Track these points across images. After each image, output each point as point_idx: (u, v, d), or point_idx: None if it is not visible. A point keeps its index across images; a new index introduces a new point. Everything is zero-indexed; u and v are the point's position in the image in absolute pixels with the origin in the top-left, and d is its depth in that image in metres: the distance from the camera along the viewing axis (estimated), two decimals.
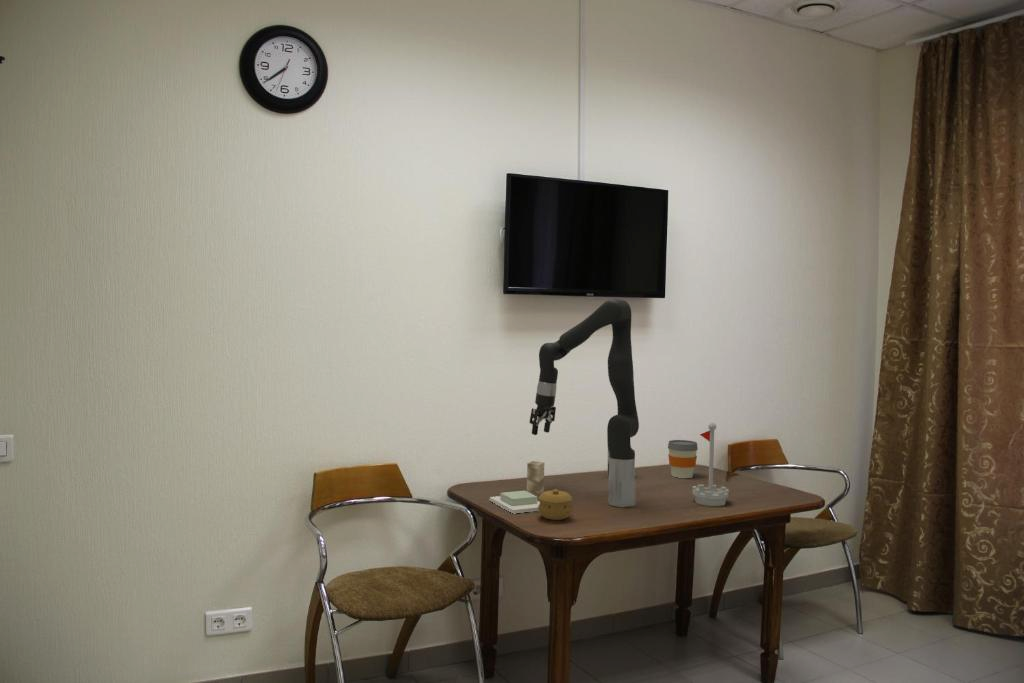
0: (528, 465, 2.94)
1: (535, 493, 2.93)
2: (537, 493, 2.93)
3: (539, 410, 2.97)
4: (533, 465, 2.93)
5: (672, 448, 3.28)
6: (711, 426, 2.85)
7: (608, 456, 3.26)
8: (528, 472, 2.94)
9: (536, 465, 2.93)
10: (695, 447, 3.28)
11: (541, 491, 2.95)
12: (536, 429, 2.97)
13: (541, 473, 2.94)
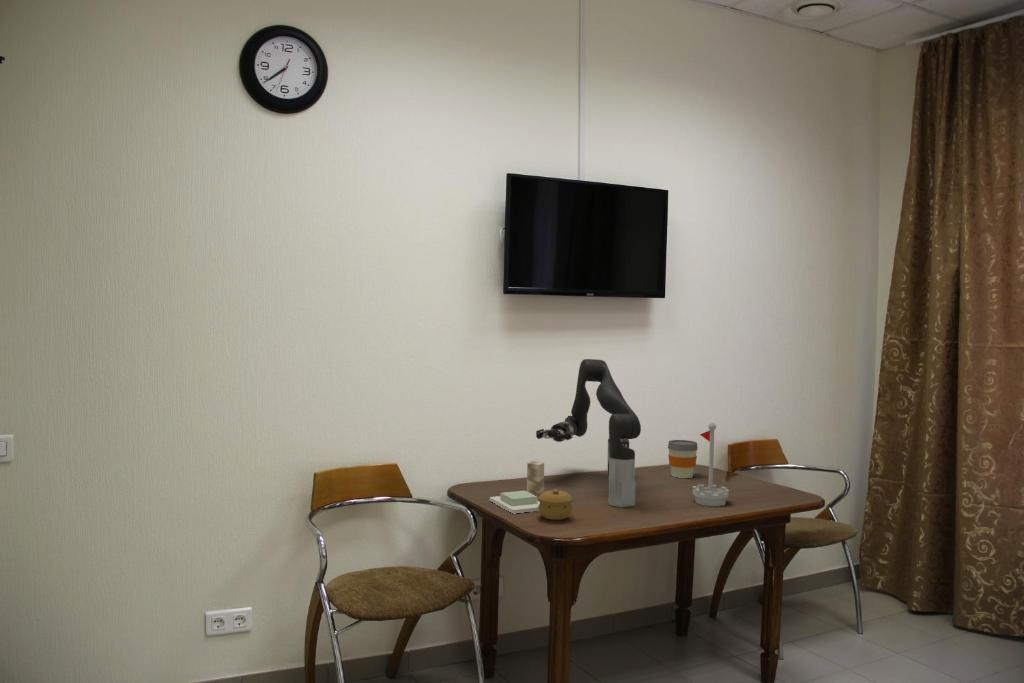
0: (528, 465, 2.94)
1: (535, 493, 2.93)
2: (537, 493, 2.93)
3: None
4: (533, 465, 2.93)
5: (672, 448, 3.28)
6: (711, 426, 2.85)
7: (608, 456, 3.26)
8: (528, 472, 2.94)
9: (536, 465, 2.93)
10: (695, 447, 3.28)
11: (541, 491, 2.95)
12: (539, 433, 3.10)
13: (541, 473, 2.94)
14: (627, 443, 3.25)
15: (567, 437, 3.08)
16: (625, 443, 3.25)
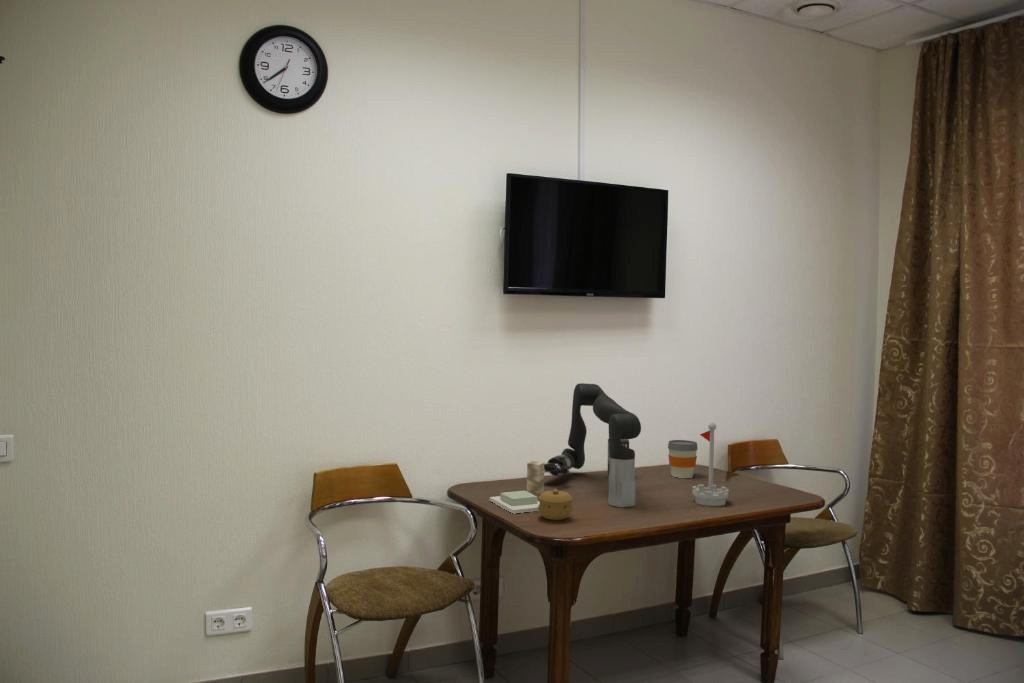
0: (528, 465, 2.94)
1: (535, 493, 2.93)
2: (537, 493, 2.93)
3: None
4: (533, 465, 2.93)
5: (672, 448, 3.28)
6: (711, 426, 2.85)
7: (608, 456, 3.26)
8: (528, 472, 2.94)
9: (536, 465, 2.93)
10: (695, 447, 3.28)
11: (541, 491, 2.95)
12: None
13: (541, 473, 2.94)
14: (627, 443, 3.25)
15: (563, 472, 3.05)
16: (625, 443, 3.25)
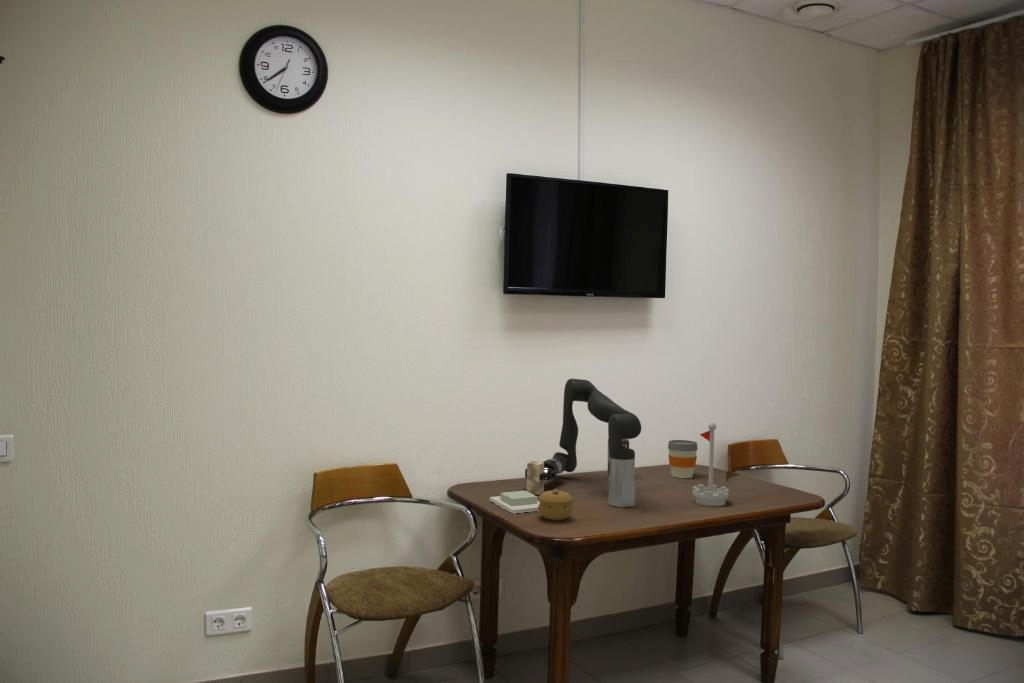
0: (528, 465, 2.94)
1: (535, 493, 2.93)
2: (537, 493, 2.93)
3: None
4: (533, 465, 2.93)
5: (672, 448, 3.28)
6: (711, 426, 2.85)
7: (608, 456, 3.26)
8: (528, 472, 2.94)
9: (536, 465, 2.93)
10: (695, 447, 3.28)
11: (541, 491, 2.95)
12: None
13: (541, 473, 2.94)
14: (627, 443, 3.25)
15: (549, 476, 2.96)
16: (625, 443, 3.25)
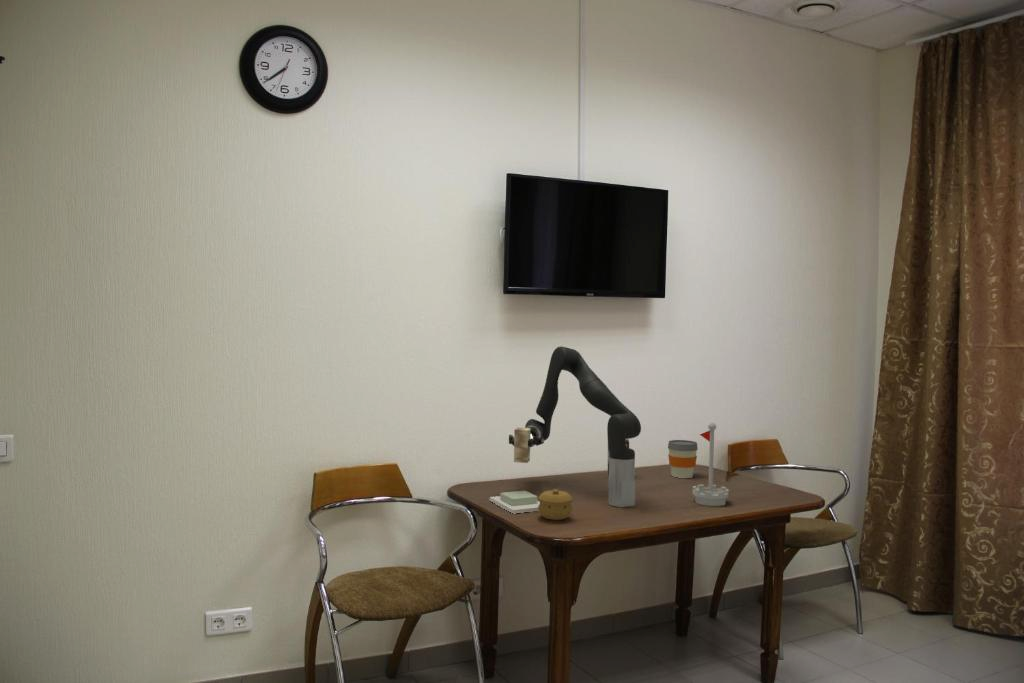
0: (515, 431, 2.81)
1: (523, 460, 2.81)
2: (525, 460, 2.81)
3: None
4: (521, 431, 2.81)
5: (672, 448, 3.28)
6: (711, 426, 2.85)
7: (608, 456, 3.26)
8: (515, 438, 2.81)
9: (524, 431, 2.81)
10: (695, 447, 3.28)
11: (528, 458, 2.83)
12: None
13: (528, 439, 2.83)
14: (627, 443, 3.25)
15: (536, 442, 2.85)
16: None
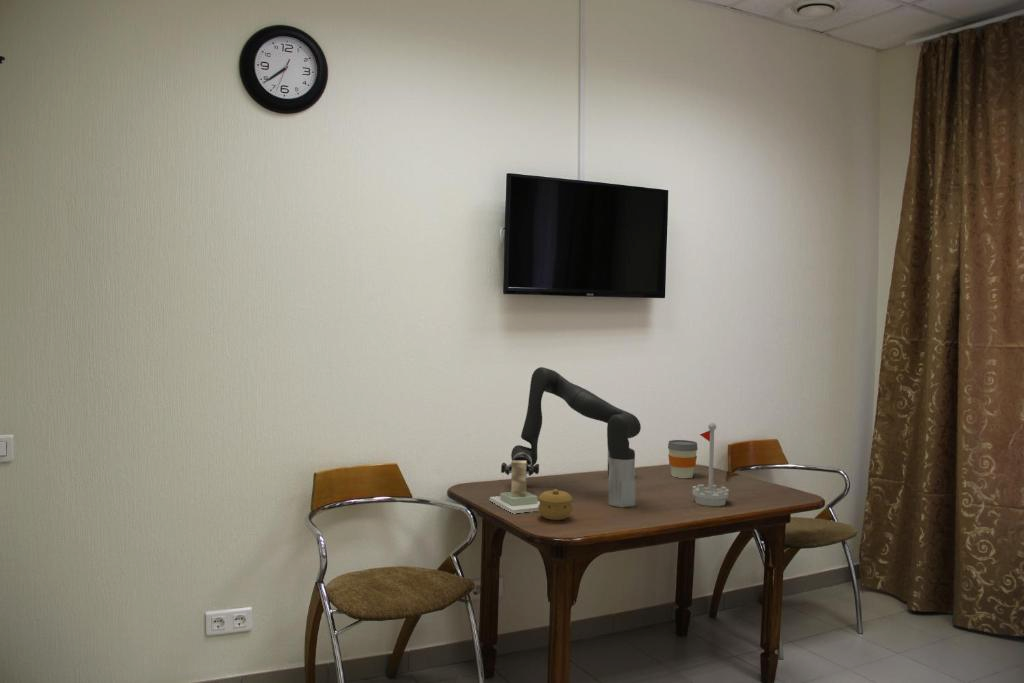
0: (513, 464, 2.74)
1: (521, 494, 2.74)
2: (523, 494, 2.74)
3: None
4: (518, 464, 2.74)
5: (672, 448, 3.28)
6: (711, 426, 2.85)
7: (608, 456, 3.26)
8: (513, 472, 2.74)
9: (522, 464, 2.74)
10: (695, 447, 3.28)
11: None
12: (507, 468, 2.77)
13: None
14: None
15: (536, 471, 2.79)
16: None
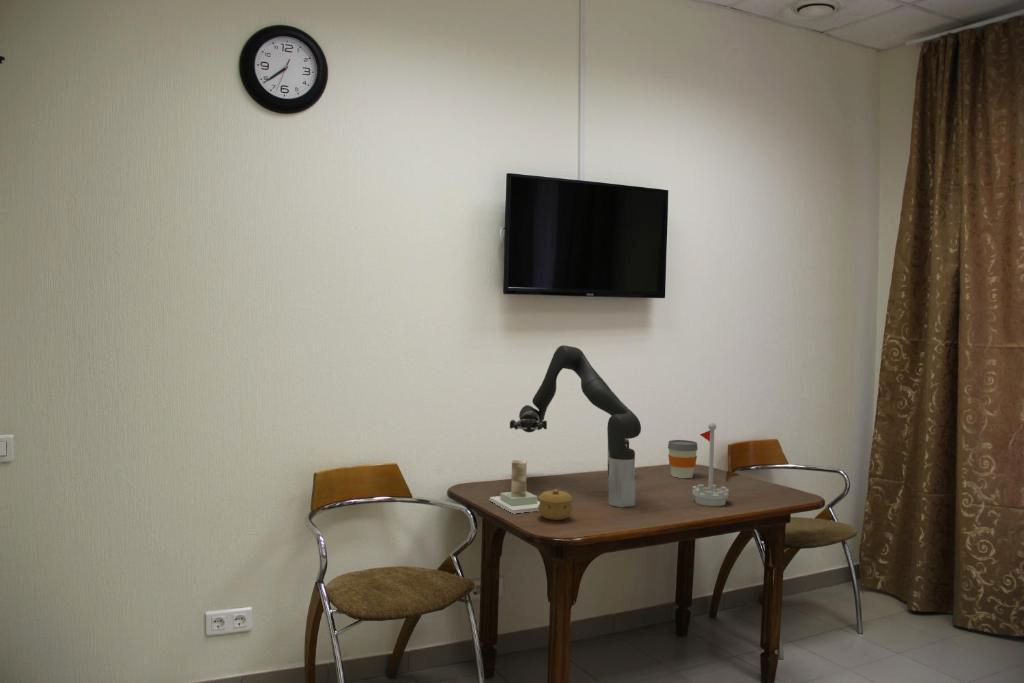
0: (513, 465, 2.74)
1: (521, 494, 2.74)
2: (523, 494, 2.74)
3: None
4: (518, 464, 2.74)
5: (672, 448, 3.28)
6: (711, 426, 2.85)
7: (608, 456, 3.26)
8: (513, 472, 2.74)
9: (522, 464, 2.74)
10: (695, 447, 3.28)
11: None
12: (515, 423, 2.93)
13: None
14: (627, 443, 3.25)
15: (545, 426, 2.94)
16: (625, 443, 3.25)
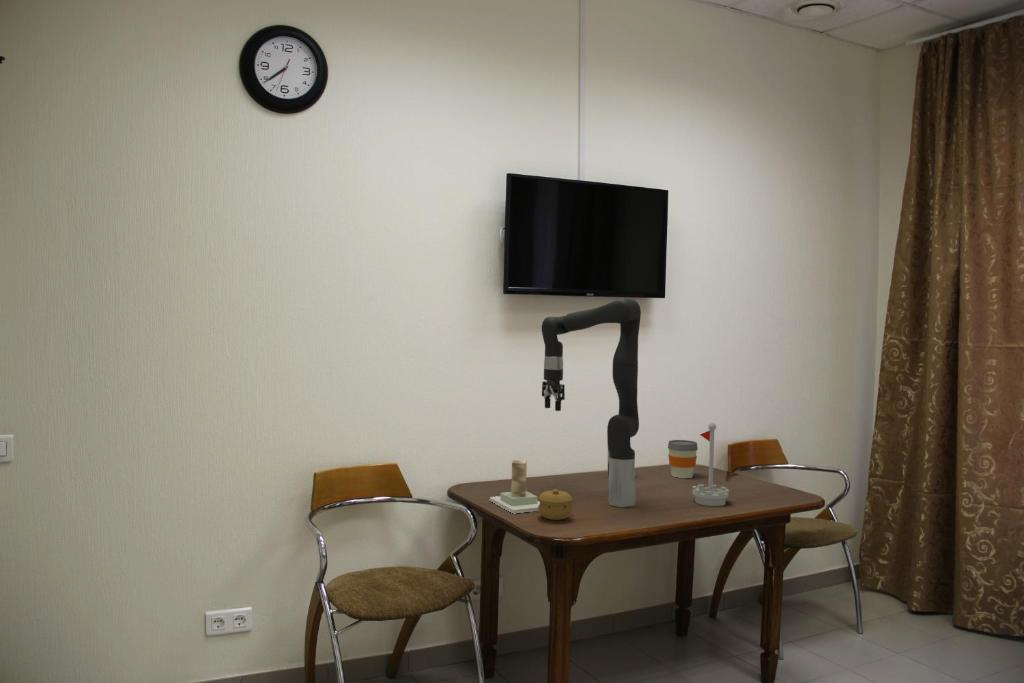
0: (513, 465, 2.74)
1: (521, 494, 2.74)
2: (523, 494, 2.74)
3: None
4: (518, 464, 2.74)
5: (672, 448, 3.28)
6: (711, 426, 2.85)
7: (608, 456, 3.26)
8: (513, 472, 2.74)
9: (522, 464, 2.74)
10: (695, 447, 3.28)
11: None
12: (545, 402, 3.04)
13: None
14: None
15: (561, 399, 2.94)
16: None
